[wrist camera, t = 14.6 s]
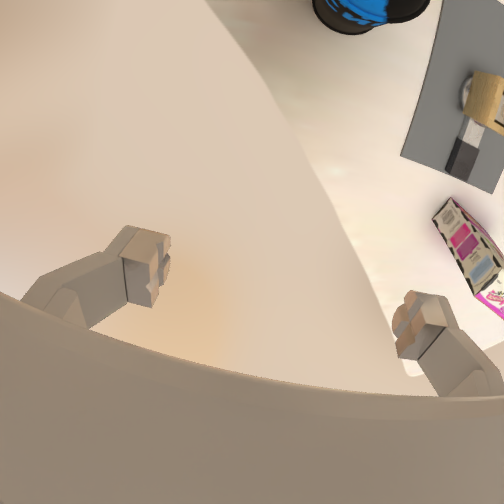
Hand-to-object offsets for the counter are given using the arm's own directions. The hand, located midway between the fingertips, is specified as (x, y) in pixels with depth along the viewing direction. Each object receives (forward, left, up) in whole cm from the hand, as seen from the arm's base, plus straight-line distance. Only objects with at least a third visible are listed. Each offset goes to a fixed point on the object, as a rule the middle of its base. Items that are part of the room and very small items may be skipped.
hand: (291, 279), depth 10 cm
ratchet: (-6, +23, -31) cm, 39 cm away
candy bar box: (+9, +29, -31) cm, 44 cm away
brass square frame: (-10, +23, -29) cm, 38 cm away
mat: (-12, +23, -31) cm, 40 cm away
